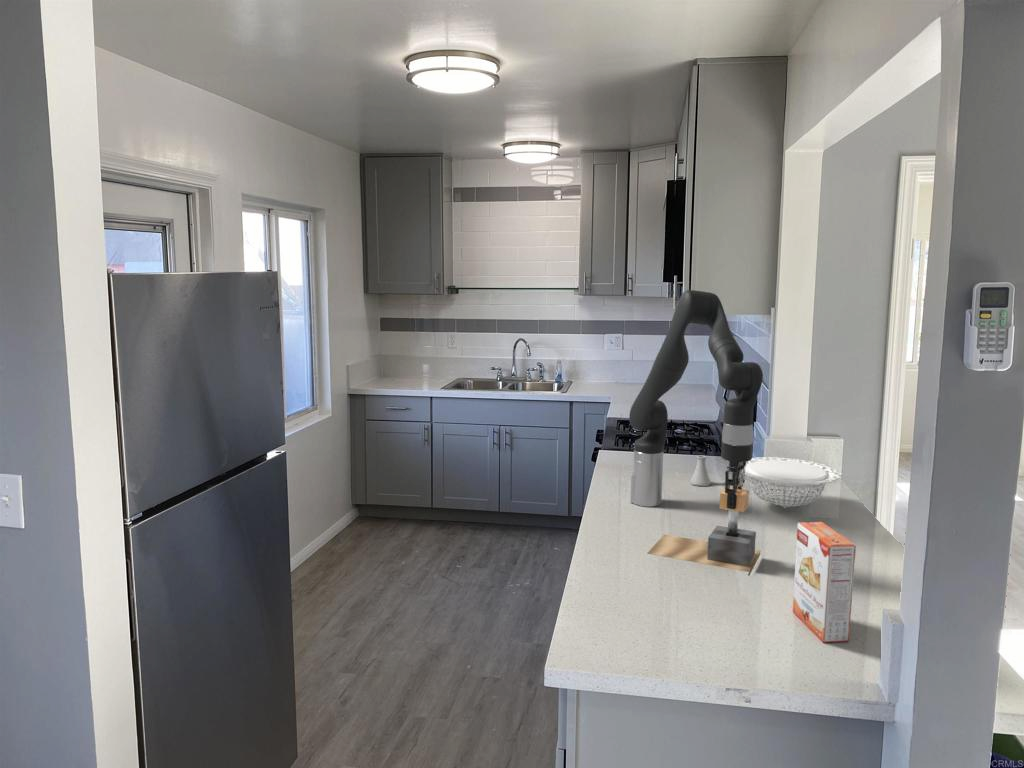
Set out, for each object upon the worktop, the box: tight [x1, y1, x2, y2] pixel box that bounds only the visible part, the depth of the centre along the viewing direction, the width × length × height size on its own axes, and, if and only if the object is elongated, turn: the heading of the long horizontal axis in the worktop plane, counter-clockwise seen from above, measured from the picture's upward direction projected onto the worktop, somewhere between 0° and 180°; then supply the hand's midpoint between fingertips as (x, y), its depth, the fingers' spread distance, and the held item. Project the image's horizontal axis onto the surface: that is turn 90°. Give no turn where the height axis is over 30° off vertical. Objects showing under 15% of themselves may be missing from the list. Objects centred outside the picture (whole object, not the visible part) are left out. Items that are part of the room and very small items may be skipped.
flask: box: [689, 454, 712, 487], centre depth 265 cm, size 7×7×10 cm
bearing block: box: [646, 525, 761, 576], centre depth 199 cm, size 26×16×7 cm, turn 63°
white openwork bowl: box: [745, 456, 844, 508], centre depth 238 cm, size 32×32×13 cm
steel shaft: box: [727, 510, 740, 537], centre depth 195 cm, size 2×2×11 cm
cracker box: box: [792, 521, 857, 643], centre depth 158 cm, size 14×6×21 cm, turn 5°
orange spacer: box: [719, 487, 750, 513], centre depth 194 cm, size 6×6×4 cm
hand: (734, 504), depth 194 cm, fingers closed on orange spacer, 6 cm apart
